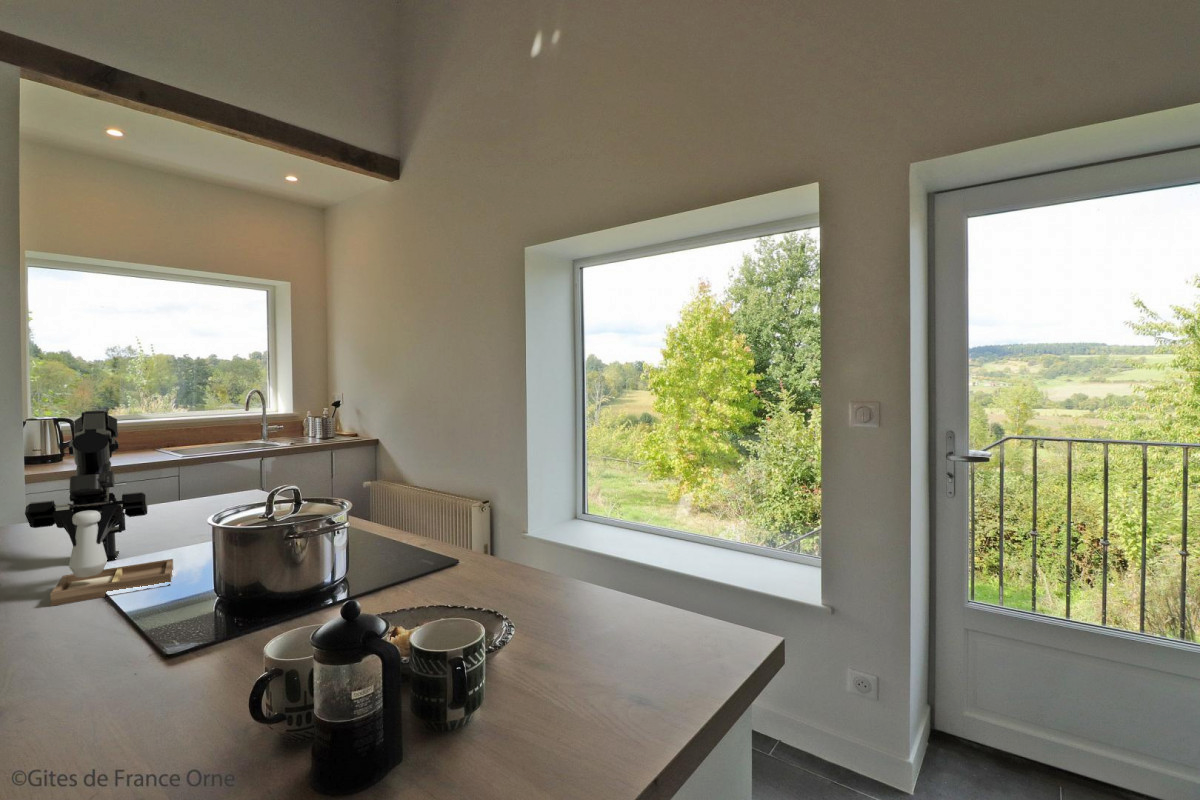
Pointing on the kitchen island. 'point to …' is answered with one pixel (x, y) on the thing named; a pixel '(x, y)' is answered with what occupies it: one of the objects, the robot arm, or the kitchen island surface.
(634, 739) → the kitchen island surface
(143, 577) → the brown flat rectangular tray
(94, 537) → the salt shaker
